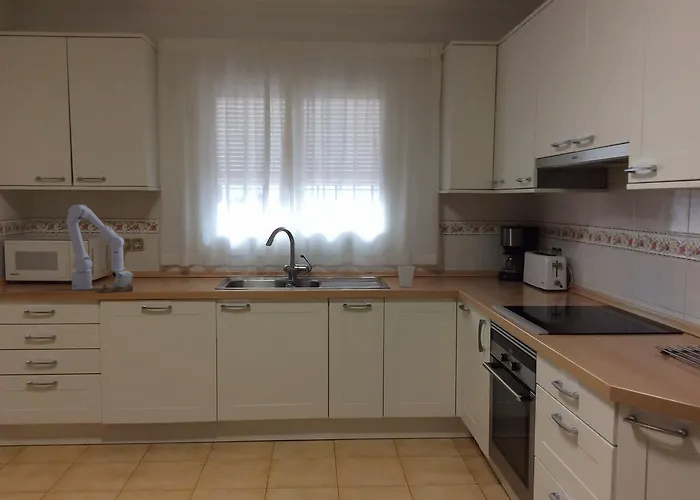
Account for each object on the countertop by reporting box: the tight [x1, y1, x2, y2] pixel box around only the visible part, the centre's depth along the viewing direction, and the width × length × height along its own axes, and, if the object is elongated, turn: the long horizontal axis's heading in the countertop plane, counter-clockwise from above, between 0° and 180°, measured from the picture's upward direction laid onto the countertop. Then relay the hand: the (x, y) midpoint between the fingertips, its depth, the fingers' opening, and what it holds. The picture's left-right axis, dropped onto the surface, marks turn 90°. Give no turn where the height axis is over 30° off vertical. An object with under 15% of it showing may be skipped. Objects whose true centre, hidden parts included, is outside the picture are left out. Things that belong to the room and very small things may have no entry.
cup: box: [396, 265, 416, 288], centre depth 326 cm, size 10×10×11 cm
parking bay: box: [101, 283, 134, 294], centre depth 310 cm, size 14×11×2 cm
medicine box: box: [112, 270, 134, 287], centre depth 313 cm, size 8×4×9 cm, turn 158°
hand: (118, 285), depth 316 cm, fingers closed, pressing on medicine box
